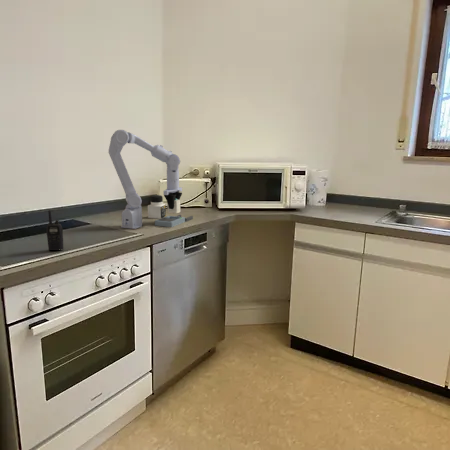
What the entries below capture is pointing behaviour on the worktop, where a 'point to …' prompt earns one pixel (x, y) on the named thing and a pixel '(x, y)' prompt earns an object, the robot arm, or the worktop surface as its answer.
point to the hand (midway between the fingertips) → (173, 208)
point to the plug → (176, 207)
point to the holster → (187, 218)
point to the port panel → (169, 221)
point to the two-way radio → (54, 234)
